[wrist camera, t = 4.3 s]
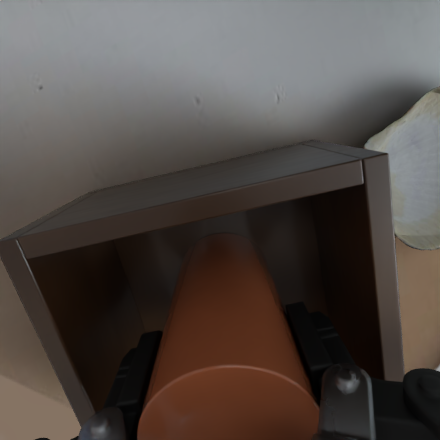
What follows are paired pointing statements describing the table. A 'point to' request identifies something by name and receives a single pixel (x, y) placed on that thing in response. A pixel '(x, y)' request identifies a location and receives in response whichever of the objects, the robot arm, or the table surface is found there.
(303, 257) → the chest
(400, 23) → the table surface
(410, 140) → the seashell
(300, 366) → the cylinder
